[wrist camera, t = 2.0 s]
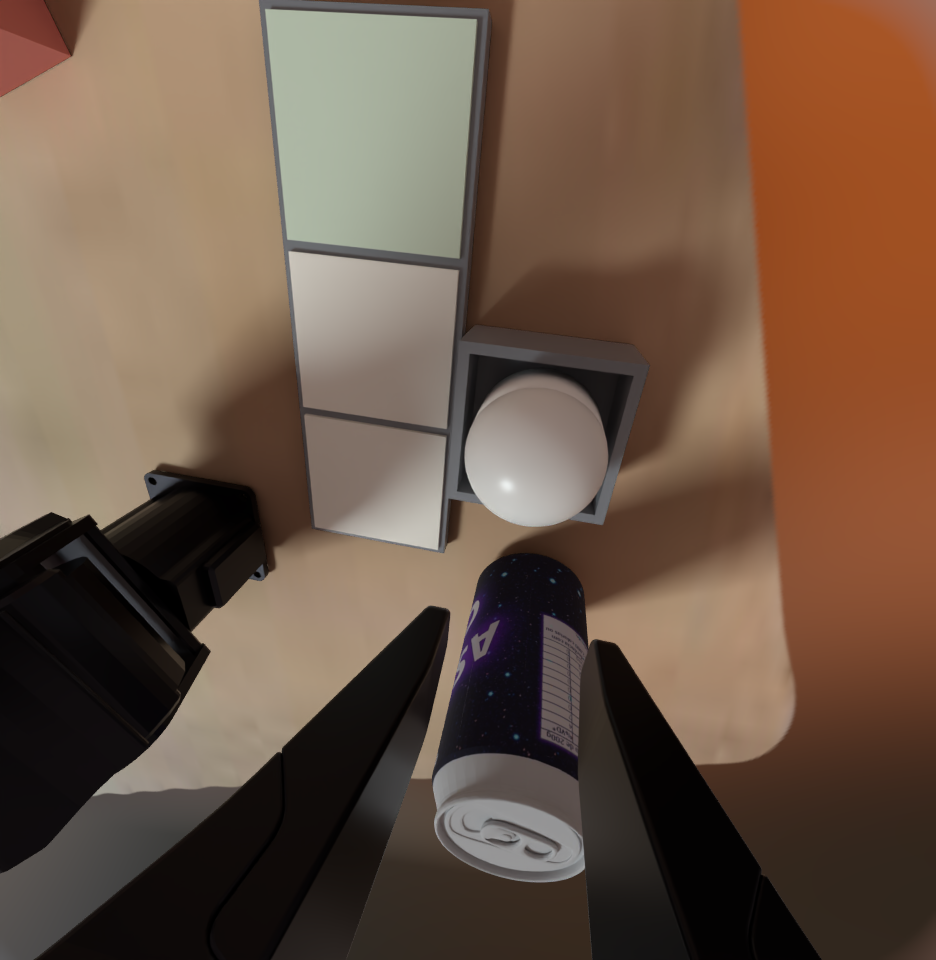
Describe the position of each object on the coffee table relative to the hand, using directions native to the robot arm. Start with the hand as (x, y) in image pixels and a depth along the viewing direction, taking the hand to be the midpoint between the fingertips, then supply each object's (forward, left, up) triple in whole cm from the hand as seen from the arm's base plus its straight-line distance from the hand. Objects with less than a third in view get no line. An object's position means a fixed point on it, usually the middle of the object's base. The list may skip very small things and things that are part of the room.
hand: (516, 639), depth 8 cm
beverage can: (+1, -10, -13) cm, 17 cm away
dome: (0, 0, -10) cm, 10 cm away
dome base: (0, 0, -13) cm, 13 cm away
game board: (-7, +2, -13) cm, 15 cm away
